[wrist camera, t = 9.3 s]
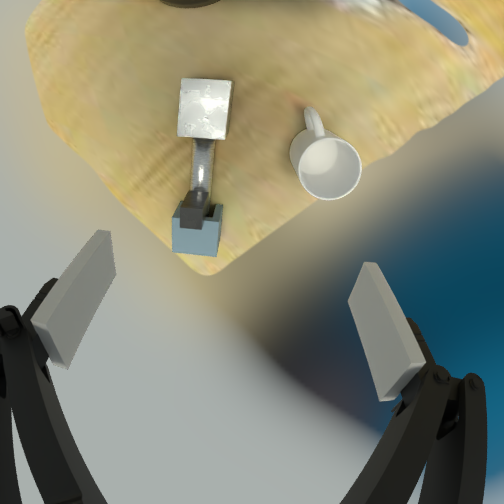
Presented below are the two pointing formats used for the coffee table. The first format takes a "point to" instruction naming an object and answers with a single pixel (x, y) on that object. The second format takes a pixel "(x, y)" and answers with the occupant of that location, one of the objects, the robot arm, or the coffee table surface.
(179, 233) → the socket
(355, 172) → the cup
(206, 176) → the grey piece
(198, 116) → the grey metal block
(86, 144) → the coffee table surface
